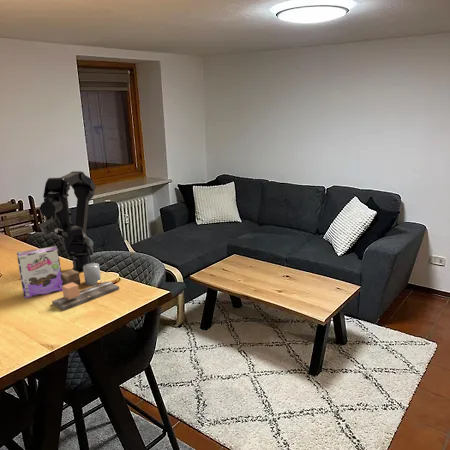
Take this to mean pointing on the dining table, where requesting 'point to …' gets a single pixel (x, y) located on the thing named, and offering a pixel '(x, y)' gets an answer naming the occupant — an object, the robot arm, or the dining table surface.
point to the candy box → (40, 271)
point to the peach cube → (70, 290)
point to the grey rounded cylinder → (91, 273)
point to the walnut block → (70, 277)
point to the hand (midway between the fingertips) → (66, 249)
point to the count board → (86, 295)
